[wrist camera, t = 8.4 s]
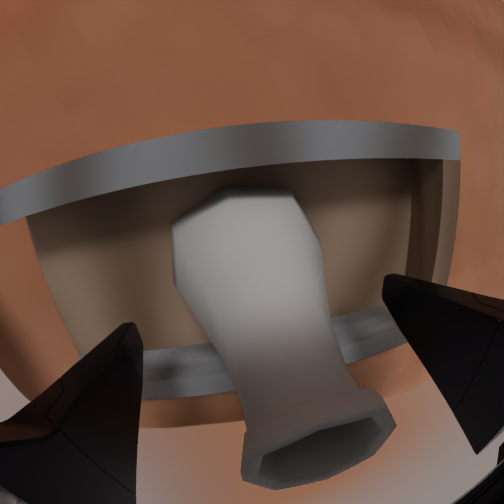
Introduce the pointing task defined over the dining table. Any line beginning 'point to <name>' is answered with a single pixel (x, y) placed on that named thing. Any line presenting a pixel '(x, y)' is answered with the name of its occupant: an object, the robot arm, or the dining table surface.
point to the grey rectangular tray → (239, 175)
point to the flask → (275, 336)
